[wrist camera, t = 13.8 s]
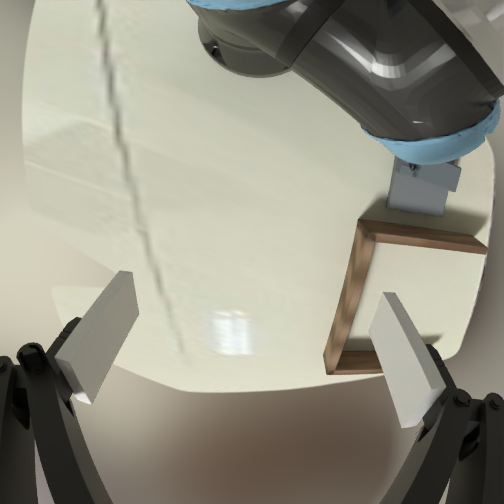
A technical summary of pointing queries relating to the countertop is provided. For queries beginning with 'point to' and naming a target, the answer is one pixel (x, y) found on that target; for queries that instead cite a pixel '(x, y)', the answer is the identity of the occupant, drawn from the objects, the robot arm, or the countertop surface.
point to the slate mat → (415, 194)
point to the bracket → (432, 173)
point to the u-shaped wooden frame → (355, 278)
